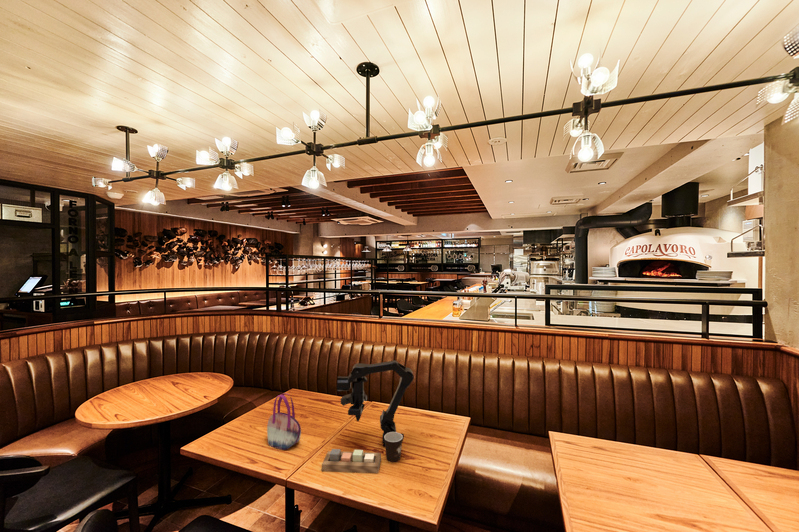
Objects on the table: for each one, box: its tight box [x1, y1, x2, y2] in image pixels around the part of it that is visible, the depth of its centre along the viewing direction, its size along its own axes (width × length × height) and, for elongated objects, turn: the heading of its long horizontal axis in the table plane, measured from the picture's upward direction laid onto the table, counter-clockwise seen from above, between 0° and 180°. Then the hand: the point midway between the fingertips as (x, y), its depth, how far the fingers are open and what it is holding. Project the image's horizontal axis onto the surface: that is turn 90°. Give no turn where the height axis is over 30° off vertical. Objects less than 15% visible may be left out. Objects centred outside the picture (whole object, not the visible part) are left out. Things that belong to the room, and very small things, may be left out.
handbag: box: [266, 392, 302, 451], centre depth 158 cm, size 21×10×25 cm, turn 66°
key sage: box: [352, 449, 364, 462], centre depth 141 cm, size 4×4×4 cm
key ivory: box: [364, 454, 375, 463], centre depth 141 cm, size 4×4×4 cm
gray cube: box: [330, 448, 342, 462], centre depth 142 cm, size 4×4×4 cm
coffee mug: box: [384, 431, 405, 463], centre depth 147 cm, size 12×9×10 cm
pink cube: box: [340, 453, 352, 462], centre depth 141 cm, size 4×4×4 cm
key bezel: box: [321, 450, 382, 474], centre depth 141 cm, size 25×10×3 cm, turn 86°
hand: (358, 420), depth 157 cm, fingers closed
